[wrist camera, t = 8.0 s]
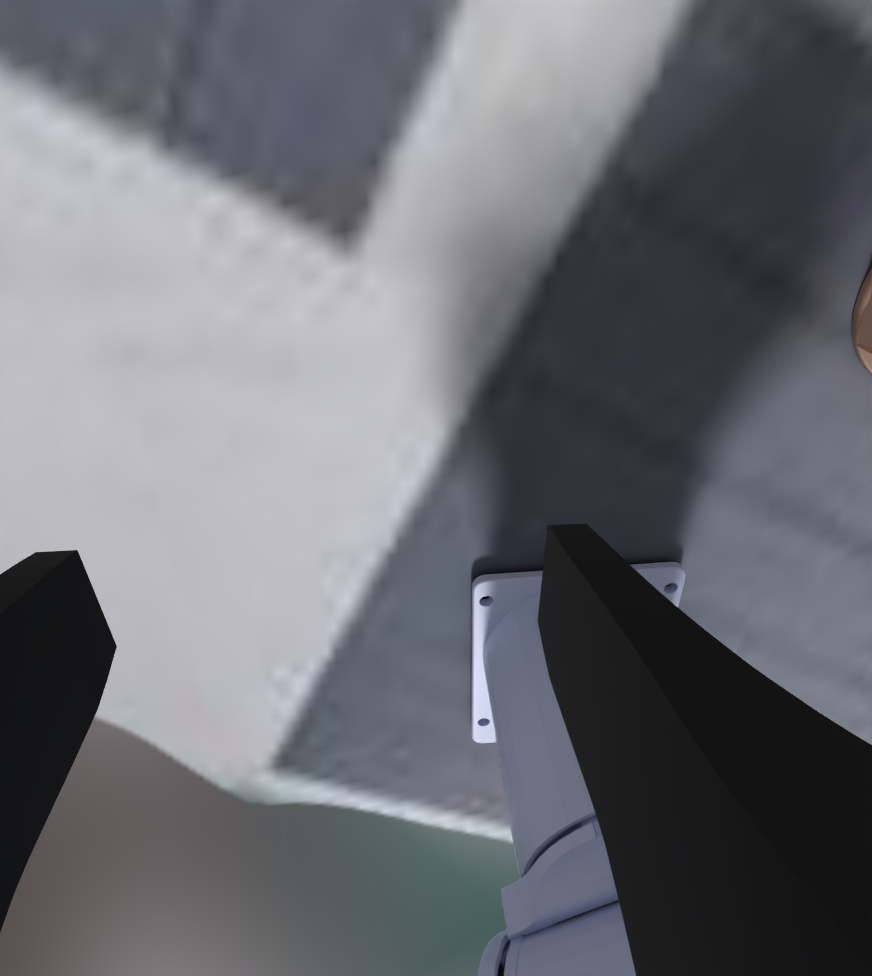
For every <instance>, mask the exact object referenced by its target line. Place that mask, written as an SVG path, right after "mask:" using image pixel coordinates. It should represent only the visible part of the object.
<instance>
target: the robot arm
mask: <svg viewBox="0 0 872 976" xmlns="http://www.w3.org/2000/svg"><path fill="white" fill-rule="evenodd" d="M685 578H686V572H685V571H684V569H683V567H682V566H681V564H679V563H677V562H661V563H647V564H632V565H630V564H629V563H627V562H626V561H625V560H624V559H623V558H622V557H621V556H620V555H619V554H618V553H617V552H616V551H615V550H614V549H613V548H611V547H610V546H609V545H608V544H607V543H606V542H605V541H604V540H603V539H602V538H601V537H600V536H599V535H598V534H597V533H595V532H594V531H593V530H592V529H591V528H590V527H589V526H588V525H587V524H572V525H552V526H548V528H547V537H546V547H545V556H544V565H543V571H530V572H515V573H501V574H486V575H481V576H479V577H477V578H476V579H475V580H474V581H473V583H472V663H471V733H472V738H473V740H474V741H475V742H478V743H491V742H496V746H497V752H498V757H499V763H500V769H501V775H502V780H503V786H504V792H505V798H506V803H507V809H508V815H509V821H510V826H511V832H512V838H513V844H514V849H515V855H516V861H517V866H518V869H519V873H520V877H521V878H520V879H519V880H517V881H516V882H514V883H512V884H510V885H508V886H506V887H504V888H502V890H501V895H502V902H503V908H504V916H505V922H506V929H507V930H504V931H502V932H500V933H499V934H497V935H495V936H494V937H493V938H492V939H491V941H490V942H489V943H488V944H487V946H486V949H485V951H484V953H483V956H482V959H481V963H480V967H479V971H478V975H477V976H872V745H871V744H869V743H867V742H865V741H864V740H862V739H860V738H859V737H857V736H855V735H854V734H852V733H850V732H849V731H847V730H846V729H844V728H842V727H841V726H839V725H838V724H836V723H835V722H833V721H831V720H830V719H828V718H827V717H825V716H823V715H822V714H820V713H819V712H817V711H816V710H814V709H813V708H811V707H810V706H808V705H807V704H805V703H804V702H803V701H801V700H800V699H798V698H797V697H795V696H794V695H792V694H791V693H789V692H788V691H786V690H785V689H783V688H782V687H781V686H779V685H778V684H776V683H775V682H773V681H772V680H770V679H769V678H767V677H766V676H765V675H763V674H762V673H760V672H759V671H758V670H756V669H755V668H754V667H752V666H751V665H749V664H748V663H747V662H745V661H744V660H743V659H741V658H740V657H739V656H737V655H736V654H735V653H734V652H732V651H731V650H730V649H729V648H727V647H726V646H725V645H723V644H722V643H721V642H720V641H718V640H717V639H716V638H714V637H713V636H712V635H711V634H709V633H708V632H707V631H705V630H704V629H703V628H702V627H701V626H699V625H698V624H697V623H696V622H695V621H693V620H692V619H691V618H690V617H688V616H687V615H686V614H685V613H684V612H682V611H681V610H680V609H679V608H678V606H679V602H680V598H681V594H682V590H683V586H684V582H685ZM670 583H672V584H671V585H669V586H666V585H668V584H670ZM665 586H666V587H665ZM484 596H490V598H488V599H481V598H482V597H484ZM116 647H117V646H116V644H115V641H114V639H113V636H112V634H111V631H110V629H109V627H108V624H107V622H106V619H105V617H104V614H103V612H102V609H101V607H100V604H99V602H98V600H97V597H96V595H95V592H94V590H93V587H92V585H91V582H90V580H89V578H88V575H87V573H86V570H85V568H84V565H83V563H82V560H81V558H80V555H79V553H78V551H77V550H73V551H54V552H36V553H34V554H32V555H31V556H29V557H27V558H26V559H24V560H22V561H20V562H19V563H17V564H16V565H14V566H13V567H11V568H9V569H8V570H6V571H5V572H3V573H2V574H0V931H1V929H2V926H3V923H4V920H5V917H6V914H7V912H8V909H9V906H10V903H11V900H12V898H13V895H14V892H15V890H16V888H17V885H18V883H19V880H20V878H21V876H22V873H23V871H24V868H25V866H26V864H27V861H28V859H29V857H30V855H31V853H32V850H33V848H34V846H35V844H36V842H37V840H38V837H39V835H40V833H41V831H42V829H43V827H44V824H45V822H46V820H47V818H48V816H49V814H50V812H51V810H52V807H53V805H54V803H55V801H56V799H57V797H58V795H59V792H60V790H61V788H62V786H63V784H64V782H65V779H66V777H67V775H68V773H69V771H70V769H71V767H72V765H73V762H74V760H75V758H76V756H77V754H78V751H79V749H80V747H81V745H82V742H83V740H84V738H85V736H86V734H87V731H88V729H89V727H90V725H91V723H92V721H93V718H94V716H95V714H96V711H97V709H98V706H99V703H100V700H101V697H102V694H103V691H104V688H105V685H106V682H107V678H108V675H109V671H110V668H111V664H112V661H113V657H114V654H115V650H116Z"/></svg>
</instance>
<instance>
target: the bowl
mask: <svg viewBox="0 0 872 976" xmlns="http://www.w3.org/2000/svg"><path fill="white" fill-rule="evenodd" d="M852 339H853V346H854V349H855V352H856V355H857V357H858V359H859V361H860V362H861V364H862V365H863V366H864V368H865V369H866V370H867V371H868V372H869V373H870V374H872V268H871V269H870V271H869V273H868V275H867V277H866V279H865V281H864V282H863V284H862V287H861V290H860V292H859V295H858V297H857V301H856V304H855V308H854V312H853V319H852Z"/></svg>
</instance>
